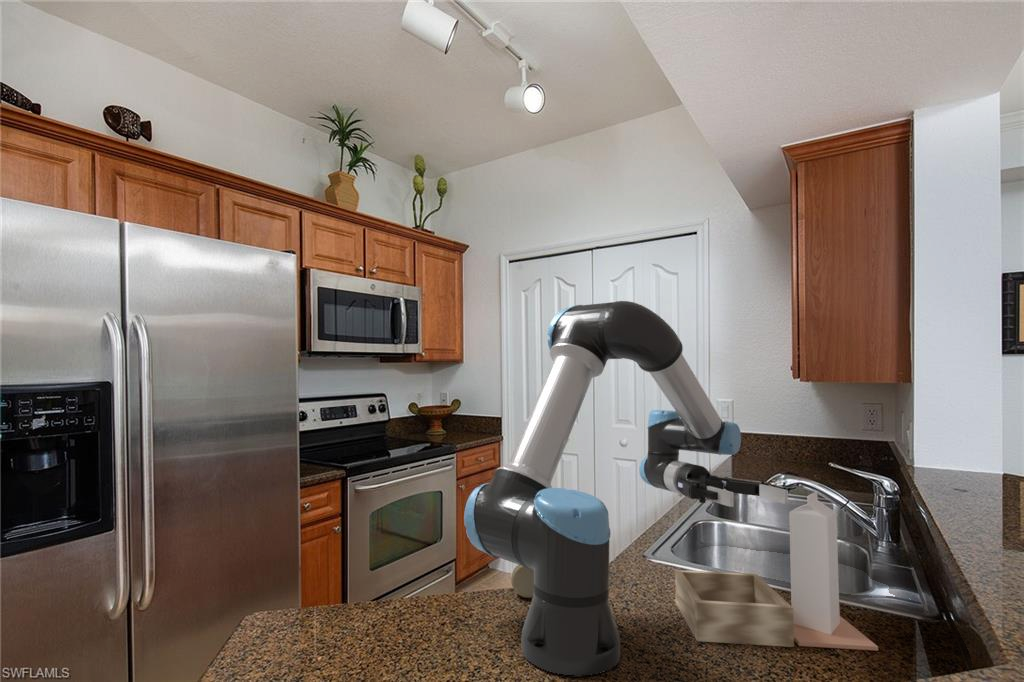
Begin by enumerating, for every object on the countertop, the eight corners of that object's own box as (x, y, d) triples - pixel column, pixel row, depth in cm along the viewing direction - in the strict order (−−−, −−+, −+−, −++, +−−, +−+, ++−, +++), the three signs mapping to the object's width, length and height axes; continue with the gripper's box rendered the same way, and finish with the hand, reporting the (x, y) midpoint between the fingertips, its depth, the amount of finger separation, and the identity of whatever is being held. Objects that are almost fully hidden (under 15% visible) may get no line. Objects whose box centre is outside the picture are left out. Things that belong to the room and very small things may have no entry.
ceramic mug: (509, 599, 98) (510, 557, 99) (511, 583, 107) (513, 544, 107) (565, 603, 98) (566, 561, 98) (563, 586, 106) (565, 547, 106)
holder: (697, 641, 84) (696, 602, 84) (675, 602, 99) (675, 569, 99) (794, 647, 82) (793, 607, 83) (757, 607, 97) (756, 573, 98)
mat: (799, 645, 83) (798, 641, 83) (763, 608, 97) (763, 605, 97) (878, 650, 82) (878, 646, 82) (831, 612, 96) (831, 608, 96)
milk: (791, 624, 89) (787, 493, 91) (802, 613, 94) (797, 488, 96) (832, 636, 85) (826, 498, 87) (841, 624, 89) (835, 493, 91)
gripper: (731, 494, 125) (808, 515, 105) (642, 498, 117) (707, 521, 97) (730, 462, 126) (807, 477, 106) (642, 464, 117) (707, 480, 97)
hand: (760, 498), depth 101 cm, fingers open, 13 cm apart
